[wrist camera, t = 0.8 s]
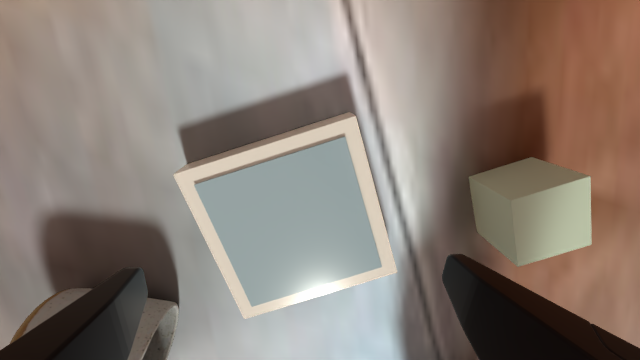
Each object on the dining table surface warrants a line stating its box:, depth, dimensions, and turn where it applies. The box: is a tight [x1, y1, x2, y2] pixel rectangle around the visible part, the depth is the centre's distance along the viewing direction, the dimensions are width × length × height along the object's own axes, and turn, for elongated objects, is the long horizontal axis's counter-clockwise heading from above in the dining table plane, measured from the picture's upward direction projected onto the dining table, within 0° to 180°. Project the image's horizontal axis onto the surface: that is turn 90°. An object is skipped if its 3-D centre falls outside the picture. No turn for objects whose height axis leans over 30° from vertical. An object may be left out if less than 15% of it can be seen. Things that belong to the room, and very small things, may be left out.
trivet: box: [173, 112, 397, 319], centre depth 22 cm, size 12×12×3 cm
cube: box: [468, 157, 591, 267], centre depth 22 cm, size 5×5×5 cm
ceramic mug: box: [10, 288, 179, 360], centre depth 22 cm, size 11×8×8 cm
